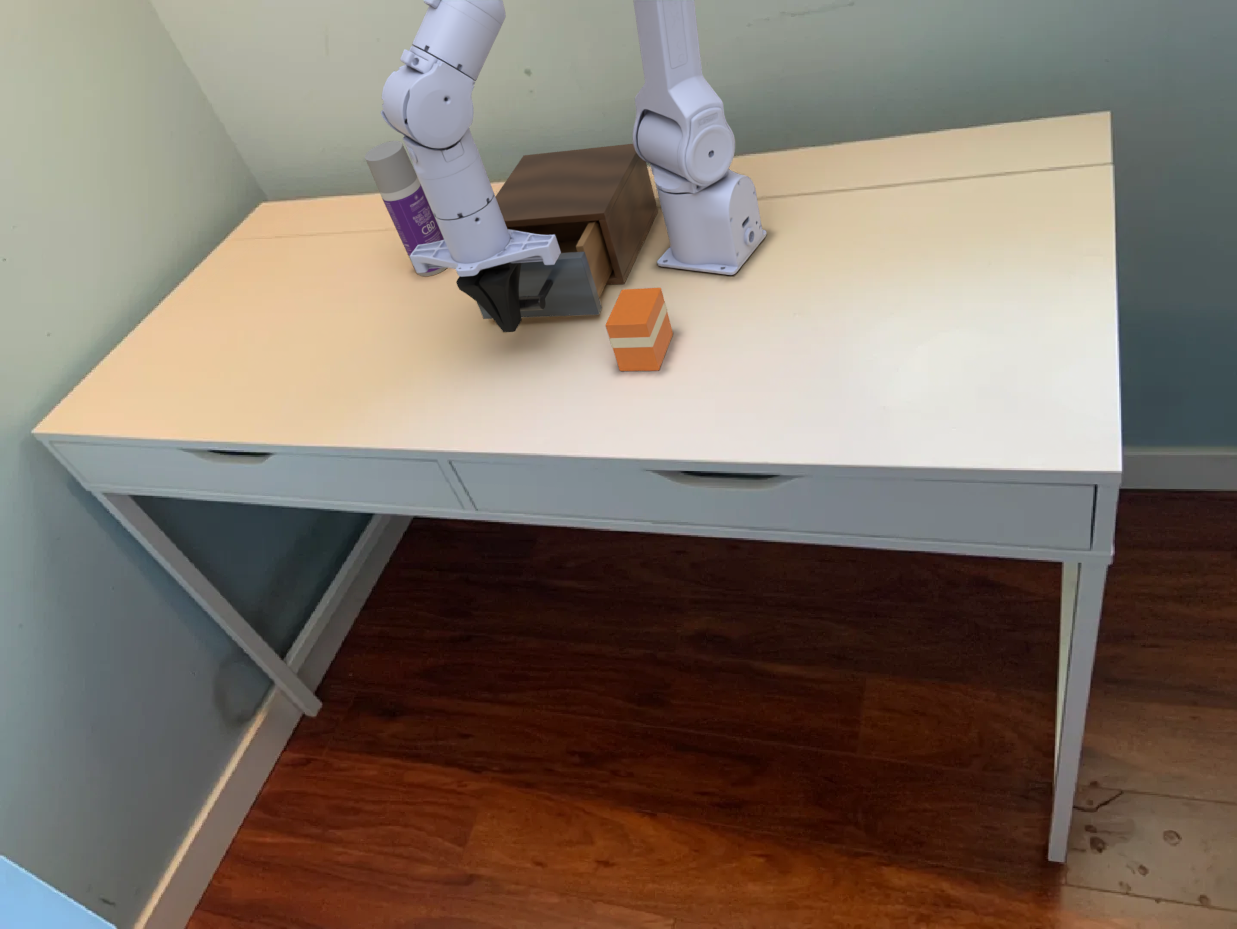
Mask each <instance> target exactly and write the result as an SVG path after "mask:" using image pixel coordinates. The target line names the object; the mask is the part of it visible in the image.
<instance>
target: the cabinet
mask: <svg viewBox="0 0 1237 929" xmlns="http://www.w3.org/2000/svg"><path fill="white" fill-rule="evenodd" d="M655 196H656V195H655V193H654V188H653V185H652V181H651V176H650V172H649V168H648V164H647V162H645V161H644V160H642V159H641V158H640V157H639V156H638V154H637V153H636V151H635V148H634V145H633V143H625V144H616V145H606V146H598V147H587V148H580V149H579V148H578V149H569V150H561V151H551V152H541V153H533V154H525V155H522V157H521V158H520V159H519V161H518V162H517V165H516V166H515V167H514V168H513V170H512V172H511V173H510V174H509V176H508V177H507V179H506V180H505V182H504V183H503V185H502V186H501V188H500V189H499V190H498V192H497V193H496V194H495V197H496V200H497V202H498V205H499V208H500V211H501V213H502V216H503V219H504V221H505V224H506V227H519V226H532V225H545V224H558V223H570V222H583V221H596V220H599V222H600V226H601V229H602V232H603V236H604V239H605V243H606V246H607V249H608V253H609V256H610V260H611V263H612V266H613V270H612V273H611V275H610V277H609V279H608V281H607V283H606V285H605V286H607V285H624V284H625V283H626V281H627V279H628V278H629V274H630V272H631V270H632V269H633V266H634V264H635V261H636V260H637V258H638V255H639V254H640V252H641V249H642V247H643V244H644V242H645V240H646V239H647V236H648V234H649V232H650V229H651V228H652V225H653V224H654V221H655V219H656V217H657V214H658V213H659V209H658V206H657V200H656V197H655Z"/></svg>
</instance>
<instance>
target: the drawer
mask: <svg viewBox="0 0 1237 929" xmlns="http://www.w3.org/2000/svg"><path fill="white" fill-rule="evenodd" d="M507 229H509V230H515V231H521V232H527V233H533V234H539V235H555V236H556V239H557V242H558V245H559V248H560V251H561V253H560V255H559V257H558V259H557V260H556V262H555V264H554V265H545V264H544V262H543V261H540V262H524V263H522V264H521V269H520V277H519V305H520V313H521V319H523V318H524V319H525V318H547V317H549V318H551V317H572V316H573V317H574V316H576V317H577V316H578V317H579V316H599V315H600V314H601V311H602V310H603V306H602V303H601V299H600V297H601V295H602V293H603V291H604V289H605V287H606V286H607V285H606V283H607V281H608V279H609V277H610V275H611V273H612V270H613V266H612V263H611V260H610V256H609V253H608V249H607V246H606V243H605V239H604V236H603V232H602V229H601V226H600V222H599V220H596V221H583V222H570V223H558V224H545V225H532V226H519V227H507ZM476 305H477V307H478V309H479V311H480V314H481V316H482V318H483V320H493V318H492V317H491V316H490V315H489V314H488V313H487V311H486V310H485V309H484V308H483V307H482V306H481V305H480V304H479V303H478V302H476Z"/></svg>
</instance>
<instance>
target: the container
mask: <svg viewBox="0 0 1237 929" xmlns="http://www.w3.org/2000/svg"><path fill="white" fill-rule="evenodd" d="M364 159H365V162H366V164H367V166H368V169H369V171H370V174H371V176H372V178H373V181H374V183H375V185H376V187H377V190H378V193H379V195H380V197H381V199H382V201H383V204H384V206H385V208H386V211H387V212H388V214H389V217H390V219H391V222H392V224H393V225H394V228H395V230H396V232H397V234H398V237H399V238H400V240H401V243H402V245H403V247H404V250H405V251H406V254H407V257H408V258H409V260H410V262H411V265H412V267H413V269H414V271H415V273H416V274H417V275H418V276H420V277H432V276H435V275H437V274H440V273H442V272H444V271H445V270H447V269H448V268H447V267H445V268H430V269H428V271H427V272H425V273H417V272H416V270H415V268H414V265H413V263H412V261H411V259H410V257H409V256H410V255H411V253H412V252H413V251H414V249H415V248H416V247H417V245H421V244H428V243H433V242H437V241H441V240H444V238H443V235H442V233H441V231H440V228H439V226H438V224H437V221H436V219H435V217H434V214H433V212H432V210H431V207H430V205H429V203H428V200H427V198H426V196H425V193H424V191H423V188H422V186H421V184H420V181H419V179H418V177H417V174H416V172H415V170H414V166H413V163H412V160H411V158H410V156H409V155H408V153H407V149H406V148H405V146H404V144H403V142H402V141H399V140H390V141H386V142H385V141H384V142H382V143H380V144H378V145H376V146H373V147H372V148H371V149H369V150H368V151H367V152H366V153H365V155H364Z"/></svg>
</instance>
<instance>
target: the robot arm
mask: <svg viewBox="0 0 1237 929" xmlns="http://www.w3.org/2000/svg"><path fill="white" fill-rule="evenodd" d="M632 2H633V10H634V16H635V22H636V29H637V35H638V43H639V51H640V56H641V57H640V58H641V63H642V71H643V77H644V78H643V79H644V83H643V85H642V86H641V88H640V89H639V91H638V92H637V94H636V95H635V97H634V103H635V121H634V123H633V124H634V125H633V129H632V144H633V145H634V148H635V151H636V153H637V154H638V156H639V157H640V158H641V159H642V160H644V161H645V162H646V164H647V163H648V164H649V166H650V170H651V173H652V176H653V179H654V184H655V188H656V192H657V196H658V199H659V200H658V201H659V204H660V208H661V212H662V216H663V217H662V218H663V221H664V225H665V228H666V233H667V237H668V241H669V247H668V248H667V249H666V250H665V252H664V253H663V254H662V255H661V256H660V258H659V259H657V261H656V264H657V266H658V267H662V268H663V267H664V268H669V269H670V268H671V269H677V270H678V269H679V270H687V271H695V272H703V273H711V274H721V275H726V276H733V275H735V274H737V273H738V271H739V270H740V269H741V267H742V266H743V265H744V264H745V263H746V262H747V260H748V259H749V258H750V257H751V255H752V254H753V253H754V251H755V250H756V249H757V248H758V247H759V245H760V244H761V243H762V241H763V240H764V239H765V238H766V236H767V234H768V233H767V230H765V229H763V225H762V220H761V213H760V207H759V202H758V196H757V190H756V186H755V183H754V181H753V180H752V178H751V177H749V176H748V175H745V174H741V173H737V172H735V171H733V170H731V169H730V168H731V165H732V163H733V160H734V157H735V152H736V138H735V135H734V132H733V129H732V127H730V125H729V123H728V122H727V119H726V116H725V115H726V114H725V110H724V102H723V100H722V98H721V97H720V96H719V95H718V94H717V93H716V91H715V90H714V89H713V87H712V86H711V84H710V83H709V82H708V81H707V79H706V78H705V77H704V74H703V67H702V58H701V49H700V40H699V31H698V30H699V29H698V21H697V13H696V12H697V11H696V1H695V0H632ZM423 3H424V4H425V5H426V6H428V8H427V10H426V12H425V14H424V16H423V18H422V21H421V22H420V25H419V27H418V29H417V32H416V34H415V36H414V39H413V41H412V43H411V45H410V48H409V49H406V48H404V49H403V52H402V53H401V56H400V58H399V60H400V62H401V63H403V64H404V65H401V66H399V67H398V70H393V71H392V72H391V73H390V75H389V76H388V77H387V78H386V80H385V82H384V84H383V87H382V92H381V100H382V102H383V103H382V104H381V107H382V110H381V111H380V115H381V118H382V119H383V120H384V122H385V123H386V124H387V125H388V126H389V127H390V128H391V129H393V130H394V131H395V132H398V133H399V134H401V135H403V137H402V141H403V143H404V145H405V147H406V148H405V149H406V151H407V152H408V154H409V155H408V156H409V158H410V161H411V163H412V166H413V168H414V170H415V172H416V175H417V177H418V179H419V181H420V184H421V186H422V188H423V191H424V193H425V196H426V198H427V200H428V203H429V205H430V207H431V210H432V212H433V214H434V217H435V219H436V221H437V224H438V226H439V228H440V231H441V233H442V235H443V238H444V240H441V241H437V242H433V243H428V244H421V245H417V247H416V248H415V249H414V251H413V252H412V253H411V255H410V256H408V258H409V257H410V258H409V260H410V259H411V260H410V262H411V261H412V263H413V265H414V267H413V269H414V268H415V269H414V271H415V270H416V271H415V273H416V272H417V273H425V272H427V271H428V269H430V268H445V267H447V268H446V269H453V270H455V271H456V274H457V276H458V278H457V280H456V282H455V283H456V285H457V289H458V290H459V291H461V292H462V293H464V294H465V295H467V296H469V297H470V298H472V300H474V301H475V303H477V302H478V303H479V304H480V305H481V306H482V307H483V308H484V309H485V310H486V311H487V313H488V314H489V315H490V316H491V317H492V318H493V319H492V320H493V322H495V324H496V325H497V326H498V328H499V329H500V330H501V331H502V333H515V332H517V329H518V328H519V326H520V324H521V322H522V319H523V318H521V313H520V305H519V277H520V269H521V264H522V263H524V262H540V261H543V262H544V264H545V265H554V264H555V262H556V260H557V259H558V257H559V255H560V253H561V251H560V248H559V245H558V242H557V239H556V236H555V235H539V234H533V233H527V232H521V231H515V230H509V229H507V227H506V224H505V221H504V219H503V216H502V213H501V211H500V208H499V205H498V202H497V200H496V197H495V196H496V194H495V192H494V189H493V186H492V184H491V181H490V178H489V176H488V173H487V170H486V167H485V165H484V162H483V160H482V157H481V154H480V150H479V149H478V146H477V144H476V143H475V140H474V138H473V137H474V136H473V135H472V132H471V129H470V128H471V126H472V124H473V121H474V113H475V112H474V111H475V110H474V102H473V97H472V95H473V90H474V88H475V84H476V82H477V80H478V78H479V75H480V73H481V71H482V69H483V67H484V64H485V62H486V61H487V58H488V57H489V54H490V53H491V50H492V48H493V45H494V44H495V41H496V39H497V37H498V35H499V33H500V31H501V28H502V26H503V24H504V23H505V22H504V21H505V20H506V18H507V15H506V9H505V5H504V0H423ZM412 263H411V264H412ZM413 265H412V266H413ZM417 273H416V274H417Z"/></svg>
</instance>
